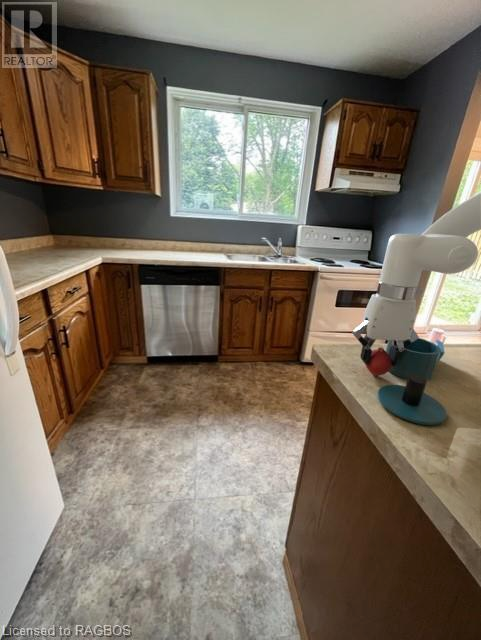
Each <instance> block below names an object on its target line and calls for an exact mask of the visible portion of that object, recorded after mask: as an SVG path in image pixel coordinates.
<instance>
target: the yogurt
mask: <svg viewBox="0 0 481 640" xmlns="http://www.w3.org/2000/svg"><path fill="white" fill-rule="evenodd" d="M434 344H435V345H437V346H438V347H439V348H440V349H441V353H440V356H439V359H438V362H437V364H438V363H439V362H440V361H441V359H442V357H443V356H445V346H444V342H443V341H441V340H439V339H436V340H435V342H434Z"/></svg>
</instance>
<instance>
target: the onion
mask: <svg viewBox="0 0 481 640" xmlns="http://www.w3.org/2000/svg"><path fill="white" fill-rule="evenodd" d="M364 365H365V368H366V369H367V370H368V372H370V374H371V375H372V376H373V377H378V376H382V375H385V374H387V373H388V372H389V370H390V368H391V358H390V356H389V355H388V353H387V352H386V349H385V348H384V347H382V346H379V347H377V349H374V350H372V354H371V358H370V362H369V364H368V365H366V364H365V363H364Z"/></svg>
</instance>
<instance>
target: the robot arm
mask: <svg viewBox="0 0 481 640" xmlns="http://www.w3.org/2000/svg"><path fill="white" fill-rule="evenodd" d="M478 231H481V190H480V191H478V192H477V193H475V194H473V195H472V196H470V197H469V198H467V199H466V200H464V201H463V202H461V203H459V204H458V205H456V206H455V207H453V208H452V209H450V210H449V211H447V212H445V213H444V214H443V215H442V216H440V217H439V218H438V219H437V220H436V221H434V222H433V223H432V224H431V225H430V226H429V227H428V228H427V229H425V231H424V232H423V233H421V234H416V233H394V234H393V235H391V236H390V237H389V238H388V242H387V244H386V250H385V254H384V257H383V258H384V259H383V263H382V268H381V271H380V276H379V281H378V285H377V290H376V293H372V295H371V296H370V299H369V301H368V303H367V305H366V308H365V310H364V314H363V316H362V320H361V324H359V325H358V326H357V327H355V328H354V329H353V330H352V331H351V334H352V335H353V336H354V337H355V338H356V339H357V341H358V343H360V344H361V346H362V347H361V351H360V356H359V357H360V360H361V361H362V362H363V363H364V365H365V364H366V365H368V364H369V362H370V358H371V354H372V351H373V350H372V347H373V345H374V343H375V342H376V341H388V340H392V341H393V346H391V347H390V349H389V353H388V355H389V356H390V358H391V365H392V366H396V363H397V361H398V359H399V356H400V352H402V351H403V350H404V348H405V347H407V346H408V345H410V344H411V342H414V341H415V340H417V339H418V338H420V337H419V334H418V333H417V331H415V329H414V324H415V320H416V312H417V300H416V299H415V298H416V295H420V294H421V293H422V288H421V287H419V282H420V279H421V276H422V271H429V272H435V273H440V274H445V275H453V274H459V273H462V272H464V271H466V270H468V269H470V268H471V267H472V266H473V265H474V264H475V263H476V261H477V259H478V256H479V249H478V247H477V245H476V243H475V242H474V241H473V240H471V239H470V238H467V237H469V236H471V235H472V234H475V233H477V232H478ZM362 333H365V335H364V337H363V336H362ZM366 365H365V366H366Z"/></svg>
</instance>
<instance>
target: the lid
mask: <svg viewBox="0 0 481 640" xmlns="http://www.w3.org/2000/svg"><path fill="white" fill-rule="evenodd" d="M427 384H428V381H426V380H425V379H424V378H422V377H420V376H417V375H409V376H408V379H406V383H405V385H399V384H387V385H386V384H385V385H383V386H381V387H380V388H379V389H378V391H377V395H376V397H377V400H378V402H379V403H380V404H381V405H382V406H383V407H384V408H385V409H386V410H387V411H388V412H390V413H391V414H393V415H395V416H397V417H399V418H400V419H403V420H405V421H409V422H412V423H415V424H418V425H426V426H435V425H440V424H442V423H444V421H445V420H446V418H447V410H446V409H445V407H444V405H442V403H441V402H439V401H438V400H437V399H436V398H434V396H433V397H432V396H431V395H430V394H427V393H425V389H426V386H427Z"/></svg>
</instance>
